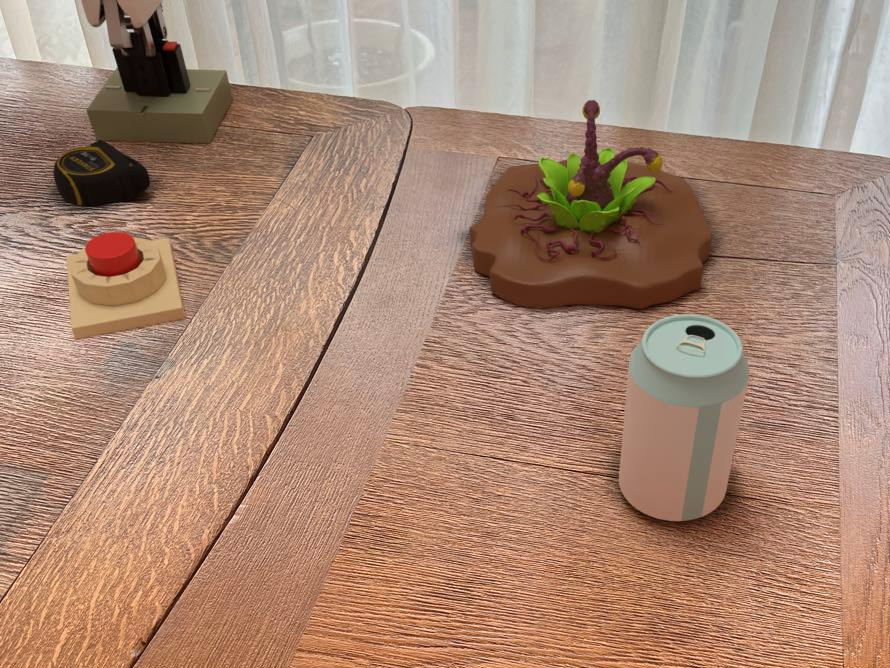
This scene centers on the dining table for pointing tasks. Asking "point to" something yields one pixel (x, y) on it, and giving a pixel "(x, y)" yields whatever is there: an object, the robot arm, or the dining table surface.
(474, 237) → the plant
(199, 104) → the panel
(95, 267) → the button
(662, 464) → the can
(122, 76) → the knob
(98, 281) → the button box
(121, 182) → the tape measure
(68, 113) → the dining table surface
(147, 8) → the robot arm
